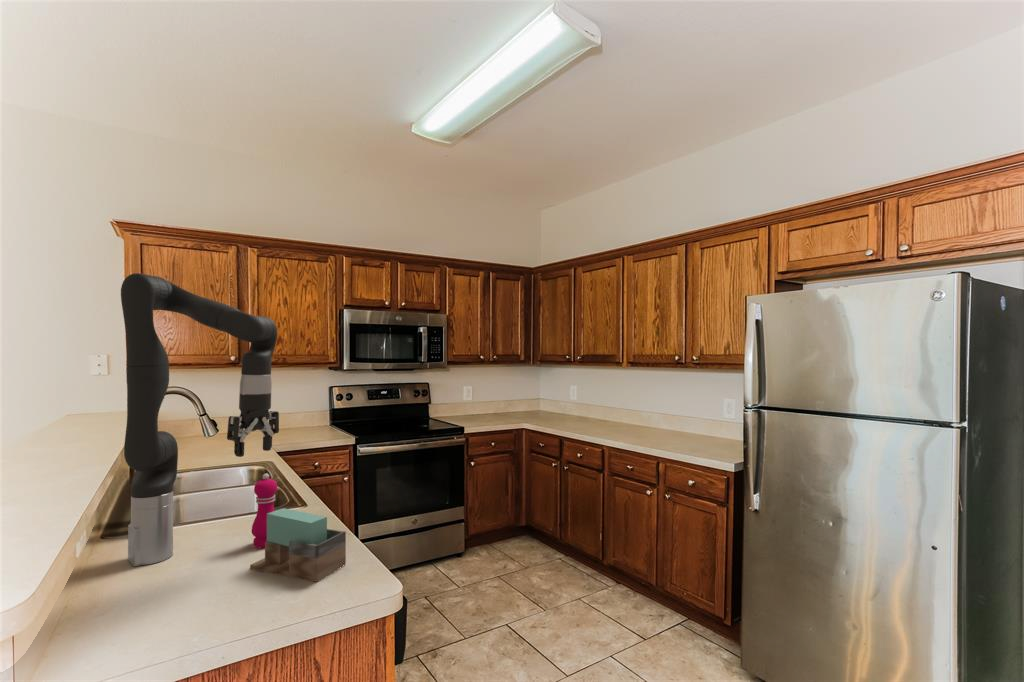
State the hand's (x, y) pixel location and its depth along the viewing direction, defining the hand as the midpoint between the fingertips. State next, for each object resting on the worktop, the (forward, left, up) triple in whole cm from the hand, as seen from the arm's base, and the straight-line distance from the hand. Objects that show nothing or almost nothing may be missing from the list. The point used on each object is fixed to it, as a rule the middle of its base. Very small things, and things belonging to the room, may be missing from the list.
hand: (253, 453), depth 134 cm
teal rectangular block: (+6, -12, -22) cm, 26 cm away
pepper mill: (+7, +9, -28) cm, 31 cm away
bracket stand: (+6, -12, -28) cm, 31 cm away
